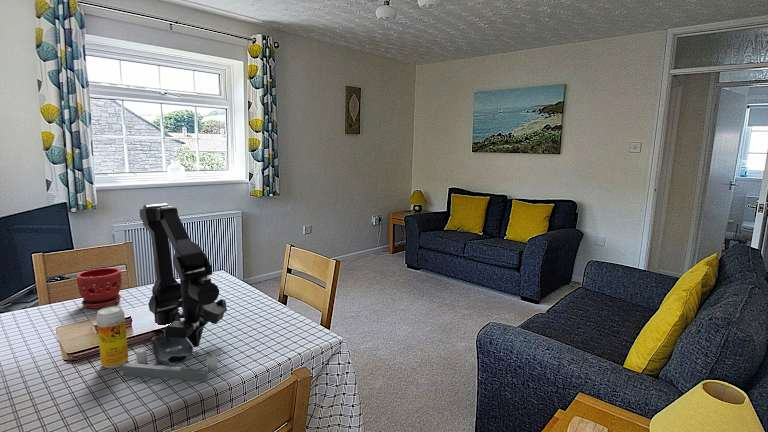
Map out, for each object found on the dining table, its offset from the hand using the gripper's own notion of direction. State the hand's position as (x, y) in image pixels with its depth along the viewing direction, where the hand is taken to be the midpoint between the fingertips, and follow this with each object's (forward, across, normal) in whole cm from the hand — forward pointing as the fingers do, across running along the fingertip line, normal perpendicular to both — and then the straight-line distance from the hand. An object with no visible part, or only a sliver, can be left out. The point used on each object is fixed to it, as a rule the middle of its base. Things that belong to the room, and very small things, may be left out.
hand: (196, 346), depth 117 cm
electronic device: (+2, -2, +6) cm, 6 cm away
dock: (+1, -11, 0) cm, 11 cm away
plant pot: (+1, +26, +52) cm, 58 cm away
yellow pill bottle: (+1, -10, +17) cm, 20 cm away
